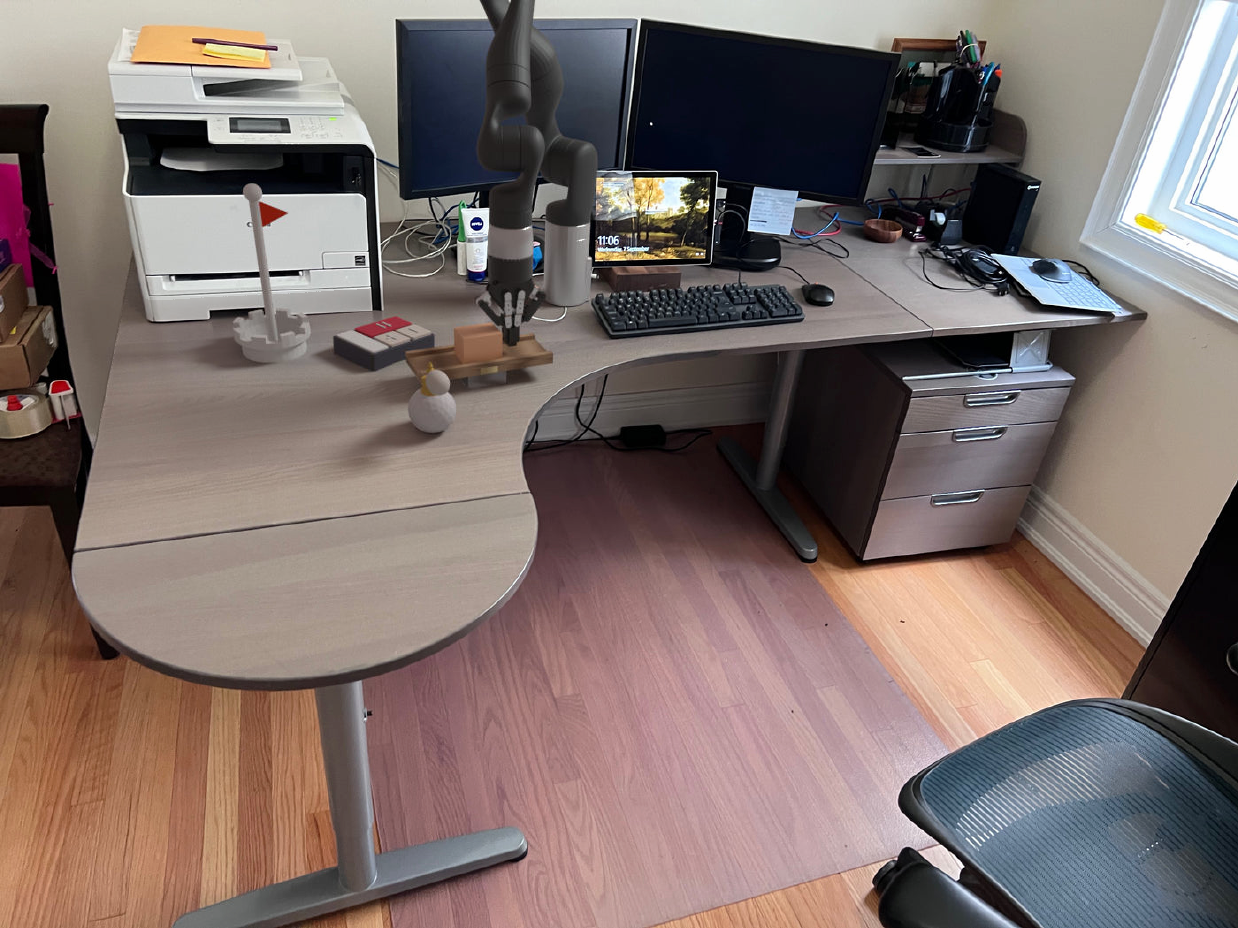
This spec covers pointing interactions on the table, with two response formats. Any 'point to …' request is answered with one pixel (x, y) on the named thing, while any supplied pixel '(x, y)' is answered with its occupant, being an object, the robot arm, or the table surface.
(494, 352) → the block
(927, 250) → the table surface
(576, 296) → the robot arm
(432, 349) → the beam
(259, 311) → the flag stand
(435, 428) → the perfume bottle
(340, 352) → the calculator
